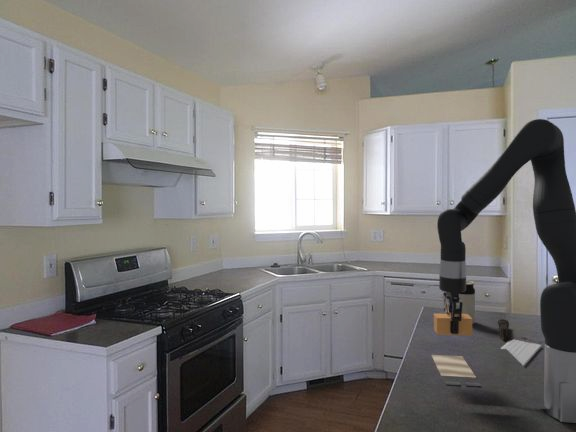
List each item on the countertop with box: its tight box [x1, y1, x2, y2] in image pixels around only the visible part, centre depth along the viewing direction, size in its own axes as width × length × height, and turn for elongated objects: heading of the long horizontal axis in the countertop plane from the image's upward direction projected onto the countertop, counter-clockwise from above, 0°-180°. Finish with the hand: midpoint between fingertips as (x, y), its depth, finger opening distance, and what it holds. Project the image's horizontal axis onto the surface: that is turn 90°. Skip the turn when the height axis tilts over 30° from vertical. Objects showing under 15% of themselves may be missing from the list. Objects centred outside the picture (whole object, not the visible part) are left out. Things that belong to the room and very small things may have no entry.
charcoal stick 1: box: [444, 380, 462, 387], centre depth 119 cm, size 2×4×2 cm
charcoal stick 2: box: [464, 381, 482, 388], centre depth 118 cm, size 2×4×2 cm
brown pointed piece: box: [497, 318, 510, 341], centre depth 167 cm, size 19×4×5 cm, turn 151°
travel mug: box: [459, 280, 476, 325], centre depth 184 cm, size 8×8×18 cm
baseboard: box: [500, 335, 542, 367], centre depth 145 cm, size 31×3×12 cm
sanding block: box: [433, 313, 473, 336], centre depth 126 cm, size 5×10×5 cm, turn 81°
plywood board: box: [431, 354, 477, 379], centre depth 132 cm, size 17×10×2 cm, turn 170°
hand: (452, 330), depth 126 cm, fingers closed on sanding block, 5 cm apart
